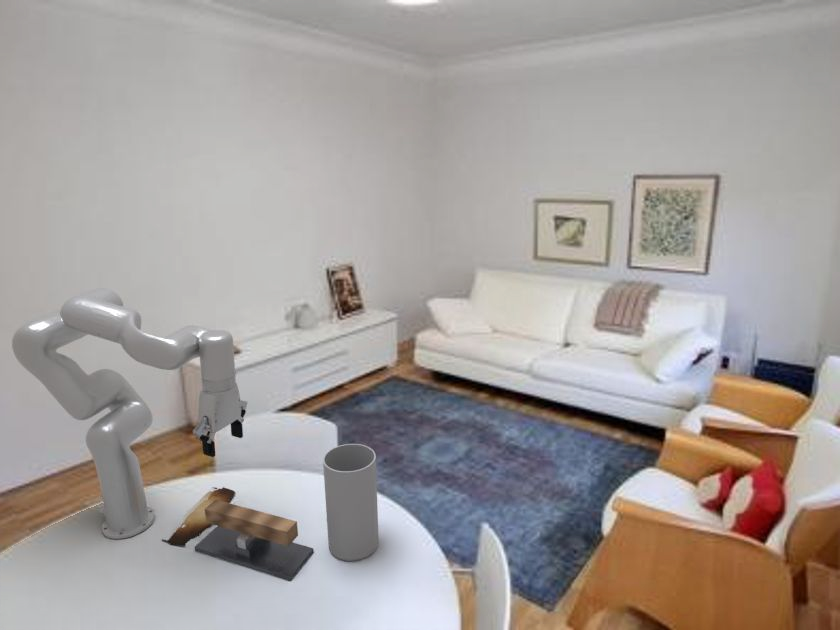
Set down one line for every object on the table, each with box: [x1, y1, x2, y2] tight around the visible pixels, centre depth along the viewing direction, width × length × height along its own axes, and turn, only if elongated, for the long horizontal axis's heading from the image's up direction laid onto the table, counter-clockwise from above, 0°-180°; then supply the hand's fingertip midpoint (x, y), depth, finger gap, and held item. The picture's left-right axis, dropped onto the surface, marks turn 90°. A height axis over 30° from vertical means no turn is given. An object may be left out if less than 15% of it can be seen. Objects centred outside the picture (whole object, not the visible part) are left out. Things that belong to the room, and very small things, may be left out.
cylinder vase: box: [322, 443, 379, 562], centre depth 133 cm, size 12×12×25 cm
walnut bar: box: [205, 500, 299, 546], centre depth 132 cm, size 24×4×4 cm, turn 69°
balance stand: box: [193, 526, 315, 582], centre depth 133 cm, size 28×10×7 cm, turn 69°
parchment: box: [161, 486, 236, 547], centre depth 148 cm, size 25×10×1 cm, turn 168°
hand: (223, 445), depth 134 cm, fingers open, 9 cm apart
